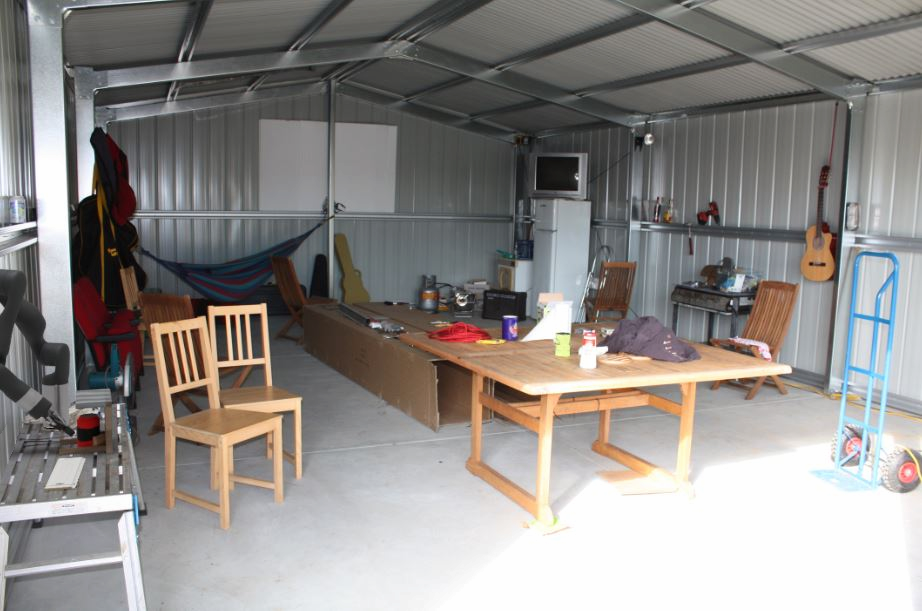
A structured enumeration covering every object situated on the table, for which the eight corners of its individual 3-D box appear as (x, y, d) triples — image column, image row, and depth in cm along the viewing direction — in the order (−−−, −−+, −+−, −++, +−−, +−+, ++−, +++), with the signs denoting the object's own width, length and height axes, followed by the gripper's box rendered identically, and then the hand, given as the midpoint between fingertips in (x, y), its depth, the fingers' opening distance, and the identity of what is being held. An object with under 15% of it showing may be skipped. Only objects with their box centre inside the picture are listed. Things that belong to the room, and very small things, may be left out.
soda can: (93, 443, 288) (92, 411, 286) (104, 447, 284) (104, 415, 282) (73, 447, 282) (72, 415, 280) (84, 452, 277) (83, 419, 276)
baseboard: (90, 460, 271) (58, 462, 267) (90, 452, 271) (58, 454, 267) (80, 490, 243) (44, 493, 239) (80, 481, 242) (44, 484, 239)
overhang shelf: (112, 453, 277) (111, 401, 275) (58, 458, 270) (57, 404, 268) (110, 437, 295) (109, 388, 293) (60, 442, 288) (59, 391, 286)
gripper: (41, 399, 268) (81, 431, 275) (42, 391, 280) (81, 421, 287) (24, 416, 267) (65, 447, 274) (26, 406, 278) (65, 437, 285)
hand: (73, 434), depth 280 cm, fingers closed
